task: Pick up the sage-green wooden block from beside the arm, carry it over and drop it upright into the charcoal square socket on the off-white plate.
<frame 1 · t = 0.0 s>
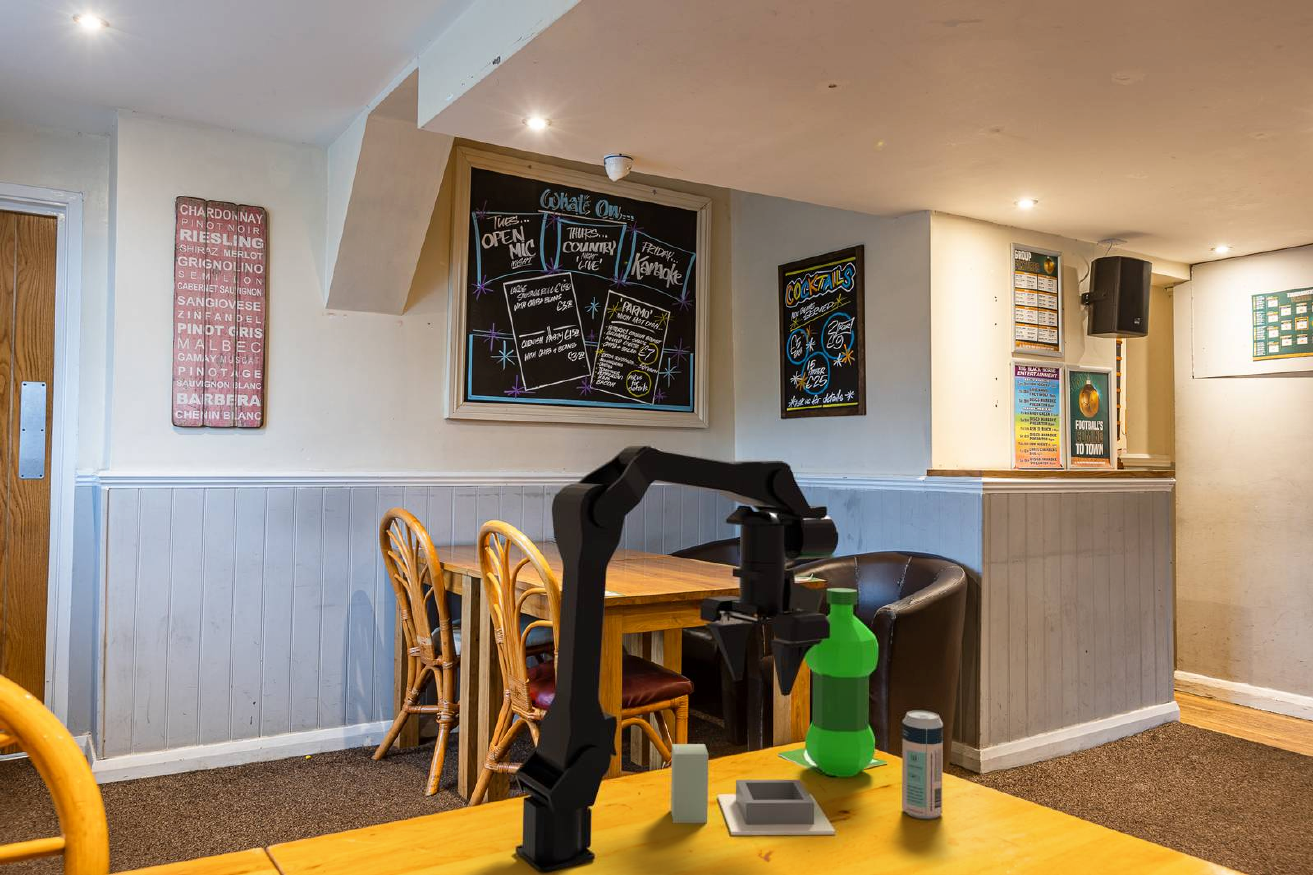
hand: (761, 687, 115), 15 cm above the table, fingers open, 9 cm apart
socket: (773, 815, 112), on the table
plastic bottle: (839, 772, 129), on the table
sage block: (688, 816, 111), on the table
beer can: (921, 815, 114), on the table
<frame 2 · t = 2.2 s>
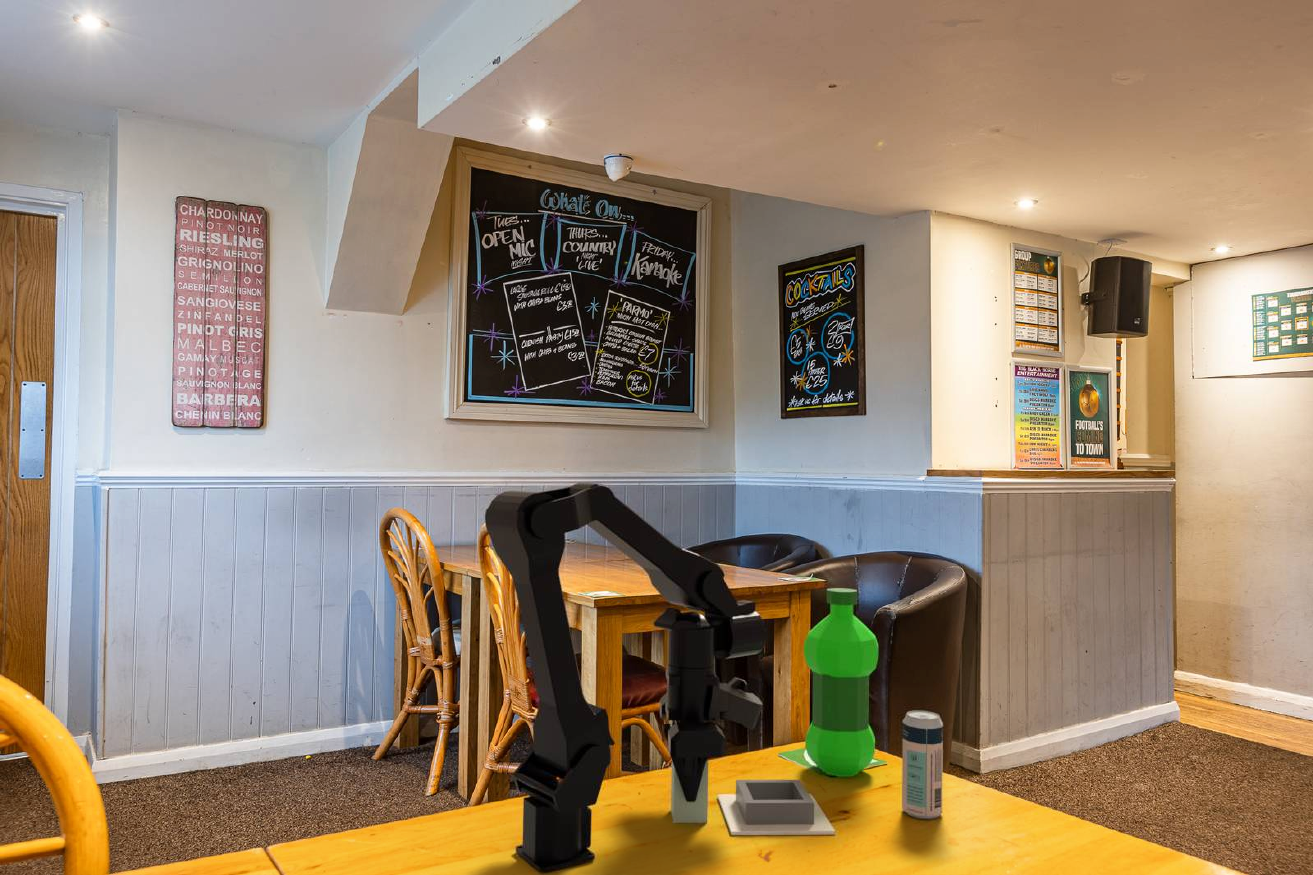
hand: (689, 795, 111), 3 cm above the table, fingers closed on sage block, 4 cm apart
sage block: (688, 816, 111), on the table, touching gripper
everything else where it was.
when the fingers open (4 cm above the table, at t = 6.5 s): sage block drops 2 cm, resting on socket.
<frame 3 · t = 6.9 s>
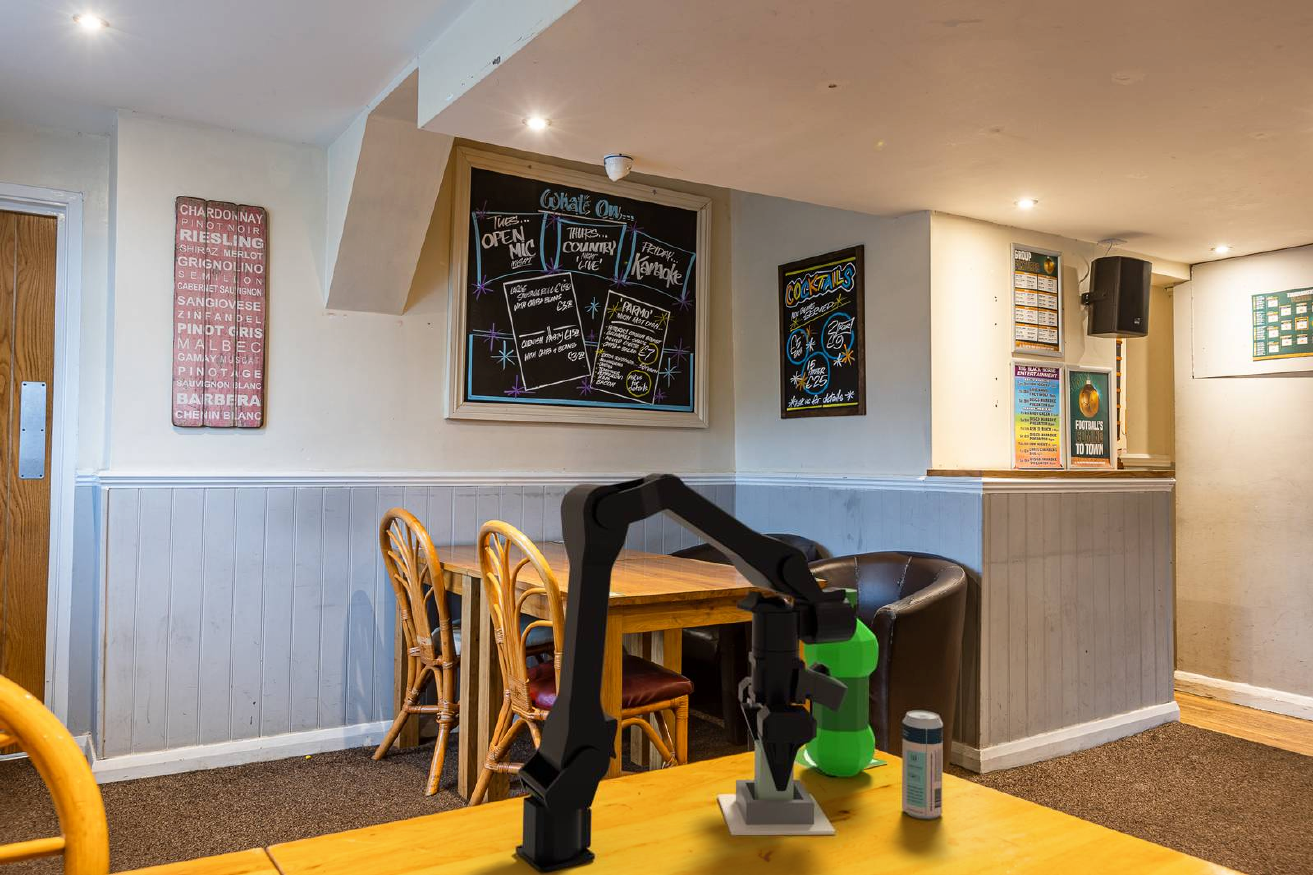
hand: (773, 777, 112), 4 cm above the table, fingers open, 9 cm apart
sage block: (773, 811, 112), resting on socket
everything else where it was.
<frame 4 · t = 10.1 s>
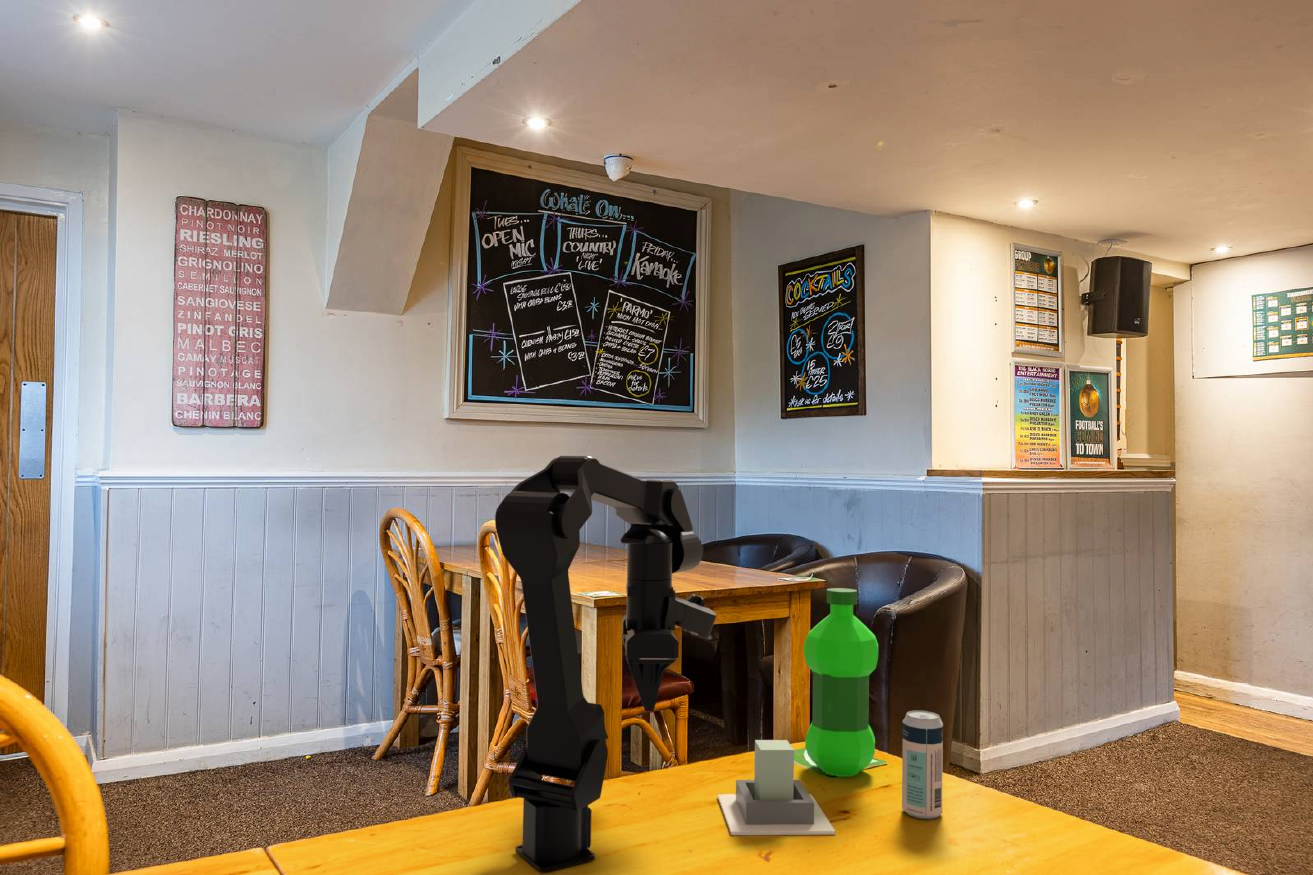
hand: (647, 701, 118), 12 cm above the table, fingers open, 9 cm apart
nothing on the table moved.
at the end: sage block 0.0 cm off-centre on the socket, point 0.4 cm above the socket's base; sage block tilted 0°; the gripper is holding nothing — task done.
